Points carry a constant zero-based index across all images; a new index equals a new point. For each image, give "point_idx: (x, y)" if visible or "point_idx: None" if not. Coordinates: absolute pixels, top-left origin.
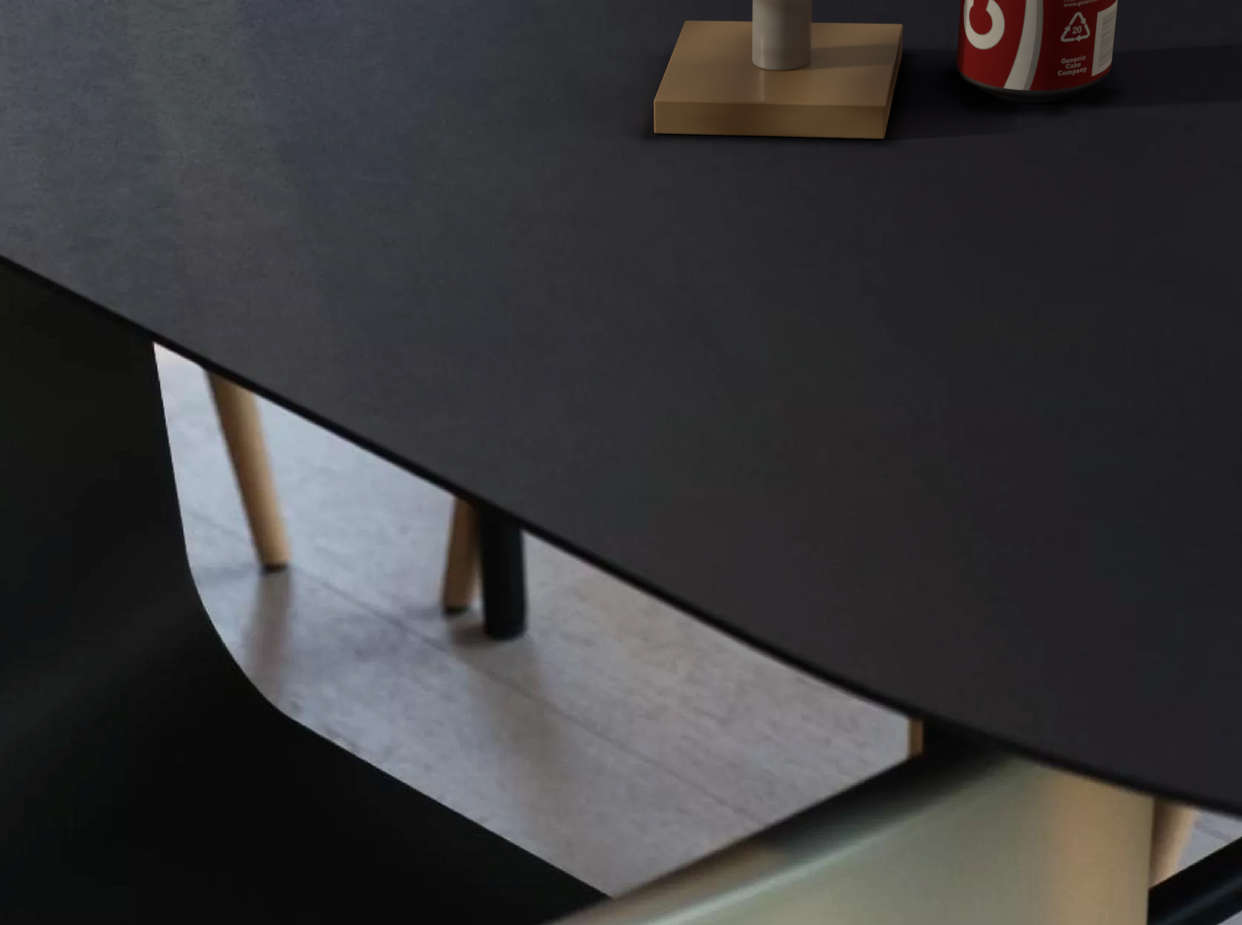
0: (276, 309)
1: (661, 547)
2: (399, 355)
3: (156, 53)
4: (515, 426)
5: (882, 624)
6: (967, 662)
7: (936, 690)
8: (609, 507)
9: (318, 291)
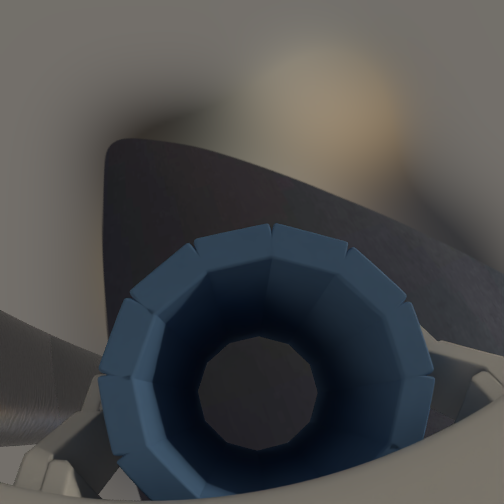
0: (474, 292)
1: (274, 184)
2: (424, 275)
3: None
4: (359, 239)
5: (195, 168)
6: (168, 160)
7: (174, 148)
8: (301, 200)
9: (472, 311)
